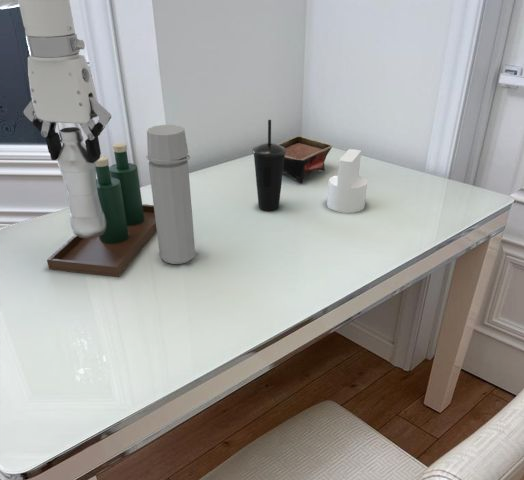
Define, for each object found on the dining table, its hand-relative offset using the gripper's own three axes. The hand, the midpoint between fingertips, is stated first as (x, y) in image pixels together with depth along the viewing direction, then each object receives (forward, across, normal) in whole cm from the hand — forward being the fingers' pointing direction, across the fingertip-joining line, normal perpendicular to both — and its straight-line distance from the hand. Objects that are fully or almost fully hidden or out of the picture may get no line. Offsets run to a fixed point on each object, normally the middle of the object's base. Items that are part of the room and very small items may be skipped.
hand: (75, 158), depth 99 cm
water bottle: (+20, -16, -5) cm, 27 cm away
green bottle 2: (+20, 0, -9) cm, 22 cm away
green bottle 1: (+20, 0, -18) cm, 27 cm away
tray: (+20, 0, -9) cm, 22 cm away
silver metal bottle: (+15, 0, 0) cm, 15 cm away
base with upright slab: (+20, -47, -38) cm, 64 cm away
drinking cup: (+20, -29, -33) cm, 48 cm away
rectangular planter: (+20, -32, -58) cm, 69 cm away
